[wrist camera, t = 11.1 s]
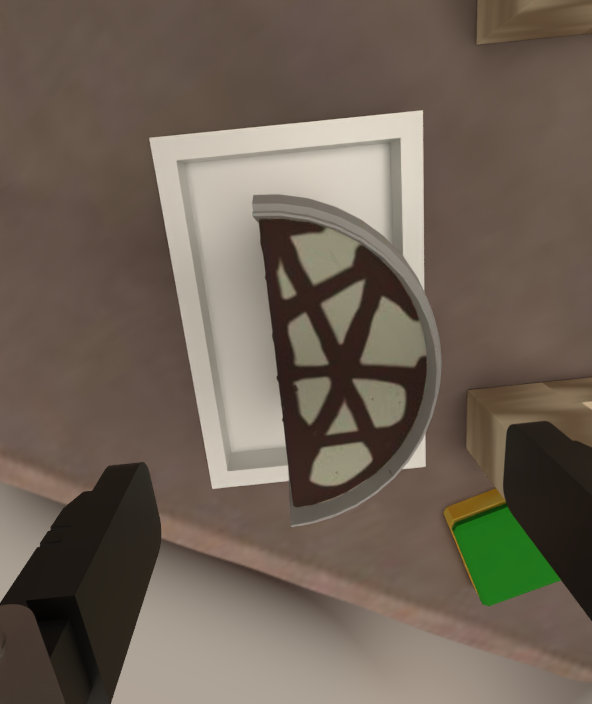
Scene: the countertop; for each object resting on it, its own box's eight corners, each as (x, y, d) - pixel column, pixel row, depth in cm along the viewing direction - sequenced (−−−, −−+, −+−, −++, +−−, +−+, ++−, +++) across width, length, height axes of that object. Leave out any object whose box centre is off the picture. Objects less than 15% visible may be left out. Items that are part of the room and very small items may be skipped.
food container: (392, 407, 27) (455, 521, 17) (287, 418, 27) (292, 539, 17) (384, 183, 23) (459, 172, 13) (261, 196, 23) (249, 194, 13)
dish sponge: (661, 510, 32) (691, 535, 29) (470, 580, 33) (484, 609, 31) (643, 426, 30) (674, 445, 27) (439, 504, 31) (452, 529, 29)
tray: (218, 459, 29) (212, 488, 26) (165, 145, 23) (149, 137, 20) (410, 440, 29) (425, 466, 26) (404, 121, 23) (422, 110, 20)
